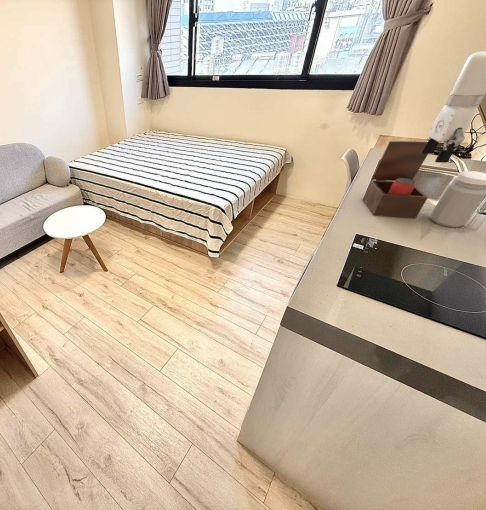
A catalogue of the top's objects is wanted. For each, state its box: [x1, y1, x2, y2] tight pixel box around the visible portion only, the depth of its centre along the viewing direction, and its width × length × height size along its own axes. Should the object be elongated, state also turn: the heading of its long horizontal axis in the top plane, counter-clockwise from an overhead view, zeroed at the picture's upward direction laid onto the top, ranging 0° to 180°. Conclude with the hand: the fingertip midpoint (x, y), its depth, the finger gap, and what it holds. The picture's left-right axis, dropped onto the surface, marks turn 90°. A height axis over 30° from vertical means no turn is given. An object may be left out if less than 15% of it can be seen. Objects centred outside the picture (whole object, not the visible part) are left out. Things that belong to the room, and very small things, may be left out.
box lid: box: [371, 140, 429, 181], centre depth 110 cm, size 16×14×5 cm
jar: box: [430, 170, 486, 228], centre depth 98 cm, size 10×10×18 cm
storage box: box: [362, 179, 429, 219], centre depth 111 cm, size 15×14×9 cm
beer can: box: [388, 178, 416, 195], centre depth 108 cm, size 7×7×12 cm
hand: (433, 157), depth 94 cm, fingers open, 9 cm apart
